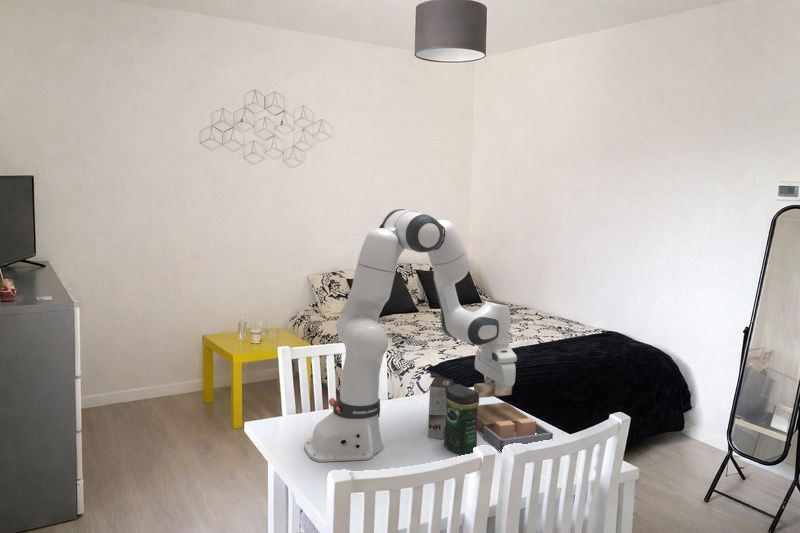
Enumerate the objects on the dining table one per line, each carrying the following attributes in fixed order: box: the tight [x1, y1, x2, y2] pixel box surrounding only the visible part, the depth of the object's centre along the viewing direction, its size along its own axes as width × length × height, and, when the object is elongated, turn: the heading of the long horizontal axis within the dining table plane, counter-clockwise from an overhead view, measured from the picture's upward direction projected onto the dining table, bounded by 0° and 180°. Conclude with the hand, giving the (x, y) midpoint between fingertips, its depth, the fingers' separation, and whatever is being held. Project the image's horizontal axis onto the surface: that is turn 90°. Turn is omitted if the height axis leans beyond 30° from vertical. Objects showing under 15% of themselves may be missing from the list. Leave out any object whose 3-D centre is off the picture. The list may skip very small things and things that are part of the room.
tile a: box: [495, 420, 515, 439], centre depth 191 cm, size 5×5×3 cm
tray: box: [482, 422, 554, 453], centre depth 191 cm, size 18×11×4 cm, turn 111°
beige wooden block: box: [473, 381, 513, 399], centre depth 205 cm, size 12×4×4 cm, turn 111°
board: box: [477, 401, 530, 436], centre depth 203 cm, size 16×15×4 cm
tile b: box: [516, 417, 537, 437], centre depth 193 cm, size 5×5×3 cm
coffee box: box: [427, 377, 454, 440], centre depth 194 cm, size 9×6×16 cm
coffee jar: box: [443, 383, 480, 455], centre depth 183 cm, size 10×8×19 cm
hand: (492, 391), depth 205 cm, fingers closed on beige wooden block, 3 cm apart
